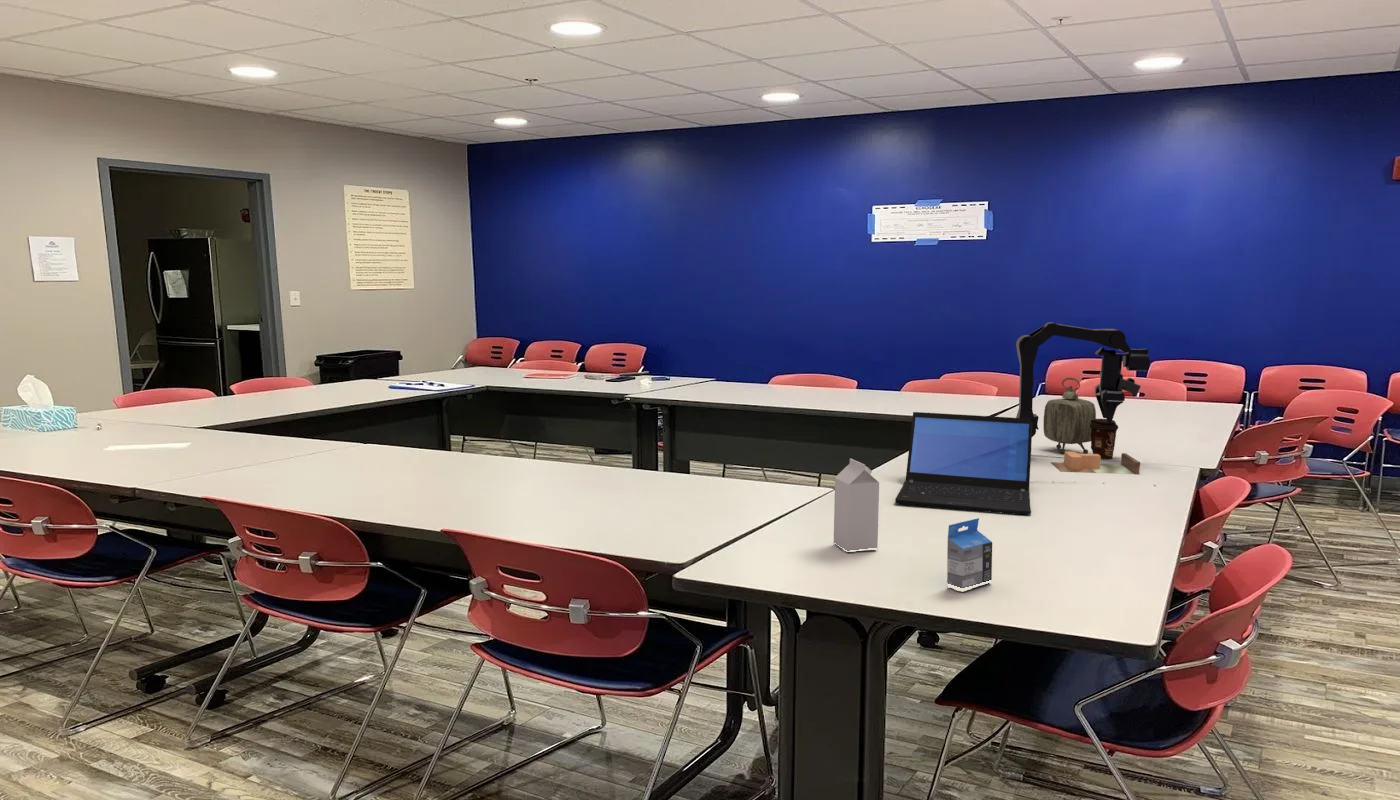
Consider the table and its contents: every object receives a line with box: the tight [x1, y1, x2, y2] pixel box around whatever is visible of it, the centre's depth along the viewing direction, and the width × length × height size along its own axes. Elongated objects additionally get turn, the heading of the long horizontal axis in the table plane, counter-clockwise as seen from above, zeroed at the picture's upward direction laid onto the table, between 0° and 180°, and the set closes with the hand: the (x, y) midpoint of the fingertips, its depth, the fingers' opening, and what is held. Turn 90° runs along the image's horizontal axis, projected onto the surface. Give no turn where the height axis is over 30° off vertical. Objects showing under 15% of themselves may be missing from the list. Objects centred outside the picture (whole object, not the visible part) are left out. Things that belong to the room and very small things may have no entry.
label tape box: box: [946, 517, 993, 588], centre depth 179 cm, size 9×4×12 cm, turn 126°
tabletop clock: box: [1043, 377, 1097, 454], centre depth 312 cm, size 14×9×25 cm, turn 30°
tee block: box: [1063, 450, 1102, 471], centre depth 284 cm, size 9×9×4 cm
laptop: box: [894, 411, 1033, 515], centre depth 252 cm, size 33×38×19 cm
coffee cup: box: [1090, 418, 1119, 460], centre depth 300 cm, size 9×8×13 cm
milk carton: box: [833, 458, 880, 551], centre depth 203 cm, size 7×7×19 cm
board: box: [1050, 452, 1141, 475], centre depth 283 cm, size 22×14×4 cm, turn 82°
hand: (1107, 420), depth 292 cm, fingers open, 9 cm apart
